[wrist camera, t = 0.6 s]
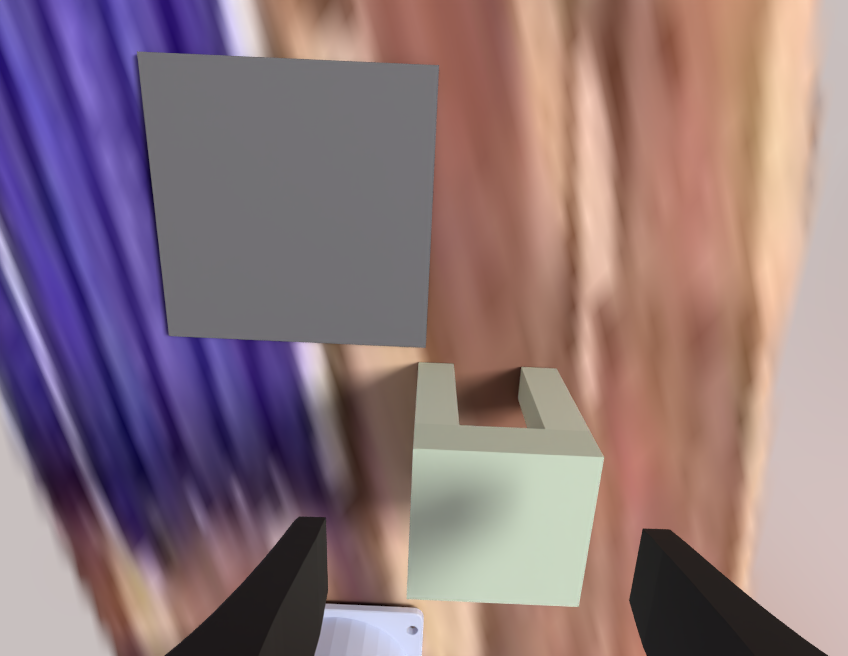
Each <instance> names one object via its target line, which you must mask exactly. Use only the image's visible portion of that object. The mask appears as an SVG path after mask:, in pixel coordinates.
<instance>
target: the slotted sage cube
mask: <svg viewBox="0 0 848 656" xmlns="http://www.w3.org/2000/svg"><path fill="white" fill-rule="evenodd" d="M518 401H519V404H520V407H521V410H522V413H523V416H524V419H525V422H526V425H527V428H508V427H487V426H465V425H459V416H458V406H457V395H456V384H455V373H454V364H446V363H424V362H419V364H418V379H417V395H416V410H415V426H414V441H413V461H412V485H411V509H410V533H409V557H408V581H407V599H420V600H441V601H463V602H485V603H506V604H528V605H550V606H571V607H579V601H580V595H581V589H582V584H583V578H584V572H585V566H586V560H587V554H588V548H589V543H590V537H591V531H592V525H593V519H594V513H595V507H596V501H597V496H598V490H599V484H600V478H601V472H602V466H603V460H604V456H603V454H602V453H601V451H600V449H599V447H598V445H597V443H596V441H595V440H594V438H593V436H592V434H591V432H590V430H589V428H588V426H587V425H586V423H585V421H584V419H583V417H582V415H581V413H580V412H579V410H578V408H577V406H576V404H575V402H574V400H573V399H572V397H571V395H570V393H569V391H568V389H567V387H566V385H565V384H564V382H563V380H562V378H561V376H560V374H559V372H558V371H557V369H555V368H534V367H521V375H520V384H519V393H518Z"/></svg>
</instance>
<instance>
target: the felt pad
mask: <svg viewBox="0 0 848 656" xmlns="http://www.w3.org/2000/svg"><path fill="white" fill-rule="evenodd" d="M137 57H138V65H139V74H140V83H141V92H142V101H143V110H144V119H145V127H146V136H147V145H148V154H149V163H150V172H151V181H152V189H153V198H154V207H155V216H156V225H157V234H158V243H159V251H160V260H161V269H162V278H163V287H164V296H165V305H166V313H167V322H168V331H169V336H182V337H203V338H225V339H247V340H269V341H291V342H313V343H334V344H356V345H378V346H400V347H422V348H426V329H427V307H428V286H429V265H430V244H431V223H432V201H433V180H434V159H435V138H436V116H437V95H438V74H439V65H420V64H398V63H376V62H353V61H331V60H309V59H287V58H265V57H243V56H221V55H199V54H177V53H155V52H137Z"/></svg>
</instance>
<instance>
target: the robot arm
mask: <svg viewBox="0 0 848 656" xmlns="http://www.w3.org/2000/svg"><path fill="white" fill-rule="evenodd" d="M327 593H328V574H327V540H326V518H325V517H298V518H297V519H296V520H295V521H294V522H293V523H292V525H291V526H290V527H289V528H288V530H287V531H286V532H285V534H284V535H283V536H282V537H281V539H280V540H279V541H278V542H277V544H276V545H275V546H274V547H273V548H272V550H271V551H270V552H269V553H268V554H267V556H266V557H265V558H264V559H263V560H262V561H261V563H260V564H259V565H258V566H257V567H256V568H255V569H254V571H253V572H252V573H251V574H250V575H249V576H248V577H247V578H246V580H245V581H244V582H243V583H242V584H241V585H240V586H239V587H238V588H237V589H236V590H235V591H234V592H233V593H232V594H231V595H230V596H229V597H228V598H227V599H226V600H225V601H224V602H223V603H222V604H221V605H220V606H219V608H218V609H217V610H216V611H215V612H214V613H212V614H211V615H210V616H209V617H208V618H207V619H206V620H205V621H204V622H203V623H202V624H201V625H200V626H199V627H198V628H196V629H195V630H194V631H193V632H192V633H191V634H190V635H189V636H187V637H186V638H185V639H184V640H183V641H182V642H181V643H179V644H178V645H177V646H176V647H175V648H173V649H172V650H171V651H170V652H169V653H167V654H166V655H165V656H422V640H423V622H424V616H423V613H422V611H421V610H419V609H417V608H410V607H389V606H367V605H345V604H326V598H327ZM629 601H630V605H631V608H632V612H633V615H634V619H635V622H636V626H637V629H638V632H639V635H640V638H641V642H642V645H643V648H644V650H645V652H646V655H647V656H828V655H826V654H825V653H824V652H822V651H820V650H819V649H818V648H816V647H815V646H813V645H812V644H810V643H809V642H808V641H806V640H805V639H804V638H802V637H801V636H799V635H798V634H797V633H796V632H794V631H793V630H792V629H790V628H789V627H787V626H786V625H785V624H784V623H782V622H781V621H780V620H778V619H777V618H776V617H775V616H773V615H772V614H771V613H769V612H768V611H767V610H766V609H764V608H763V607H762V606H760V605H759V604H758V603H757V602H756V601H754V600H753V599H752V598H751V597H749V596H748V595H747V594H746V593H744V592H743V591H742V590H741V589H740V588H738V587H737V586H736V585H735V584H734V583H732V582H731V581H730V580H729V579H728V578H727V577H725V576H724V575H723V574H722V573H721V572H720V571H718V570H717V569H716V568H715V567H714V566H713V565H711V564H710V563H709V562H708V561H707V560H706V559H704V558H703V557H702V556H701V555H700V554H699V553H697V552H696V551H695V550H694V549H693V548H692V547H690V546H689V545H688V544H687V543H686V542H685V541H683V540H682V539H681V538H680V537H679V536H677V535H676V534H675V533H673V532H672V531H671V530H668V529H643V530H642V535H641V541H640V546H639V551H638V557H637V562H636V567H635V573H634V578H633V583H632V589H631V594H630V599H629ZM410 626H415V627H414V628H411V627H410Z"/></svg>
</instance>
